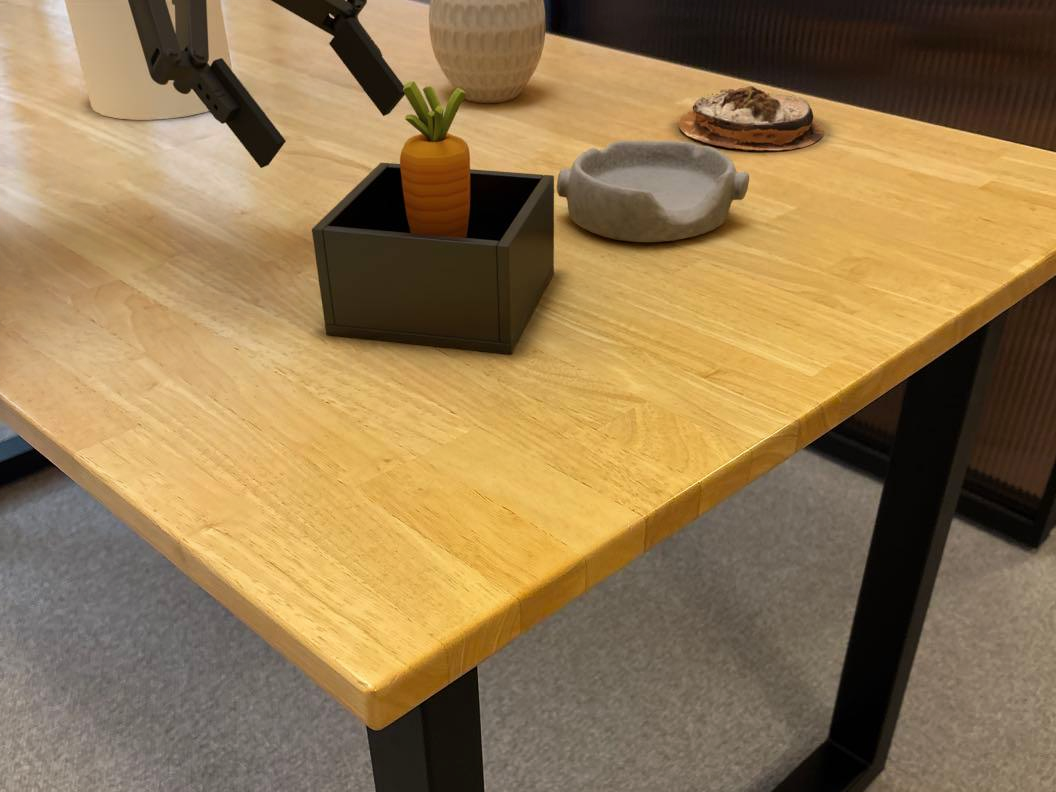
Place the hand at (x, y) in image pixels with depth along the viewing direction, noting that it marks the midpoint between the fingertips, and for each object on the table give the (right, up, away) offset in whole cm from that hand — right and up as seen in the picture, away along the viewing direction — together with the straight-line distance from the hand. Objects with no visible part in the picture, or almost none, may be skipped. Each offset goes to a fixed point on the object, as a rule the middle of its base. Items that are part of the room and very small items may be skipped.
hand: (338, 128), depth 77 cm
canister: (-29, +21, +47) cm, 59 cm away
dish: (+23, -1, +17) cm, 29 cm away
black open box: (+7, -12, +4) cm, 14 cm away
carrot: (+7, -11, +4) cm, 14 cm away
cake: (+36, +14, +37) cm, 54 cm away
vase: (+9, +21, +47) cm, 52 cm away
